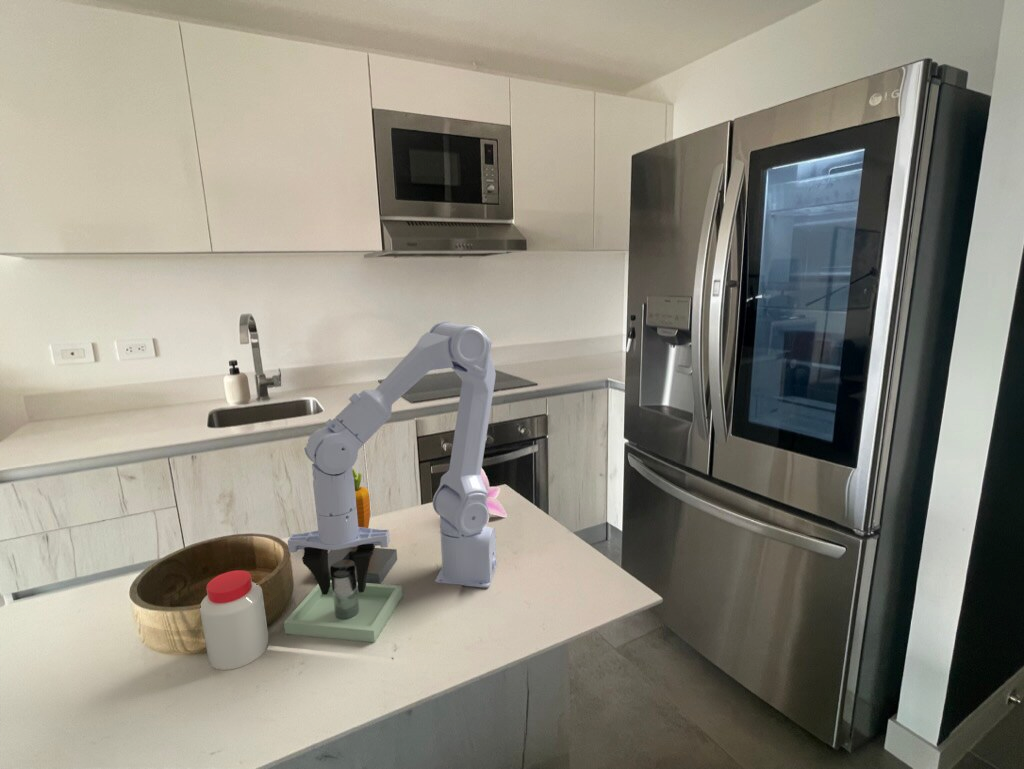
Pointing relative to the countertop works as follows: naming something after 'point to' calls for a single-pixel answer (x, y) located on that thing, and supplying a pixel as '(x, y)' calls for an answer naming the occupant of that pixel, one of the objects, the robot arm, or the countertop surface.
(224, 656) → the pill bottle
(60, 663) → the countertop surface
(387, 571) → the hitch block
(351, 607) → the pin
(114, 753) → the countertop surface
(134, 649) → the countertop surface
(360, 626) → the tray
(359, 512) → the carrot
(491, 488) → the lily
